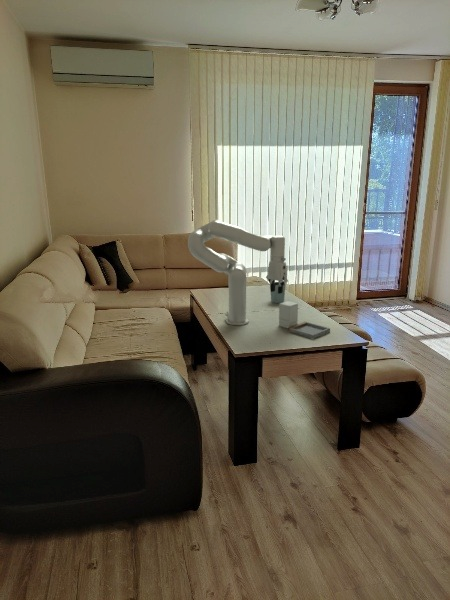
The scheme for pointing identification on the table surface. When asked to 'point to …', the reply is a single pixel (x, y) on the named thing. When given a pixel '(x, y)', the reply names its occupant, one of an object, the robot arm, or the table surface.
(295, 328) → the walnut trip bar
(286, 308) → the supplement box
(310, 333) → the grey rubber tray
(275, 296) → the drinking glass
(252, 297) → the table surface
